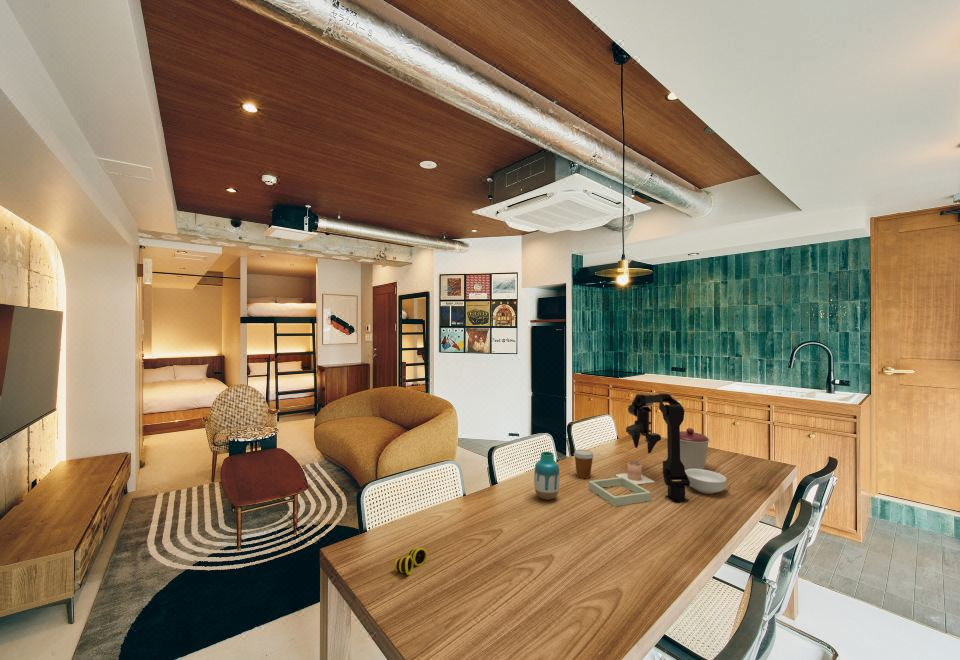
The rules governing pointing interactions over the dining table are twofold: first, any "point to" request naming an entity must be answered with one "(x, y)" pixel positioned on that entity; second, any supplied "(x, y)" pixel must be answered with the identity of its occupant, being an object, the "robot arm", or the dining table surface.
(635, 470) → the terracotta pot
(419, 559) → the opera glasses
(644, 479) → the potting mat
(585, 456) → the disposable coffee cup
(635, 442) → the robot arm
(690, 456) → the canister
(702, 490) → the cereal bowl
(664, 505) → the dining table surface
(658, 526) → the dining table surface
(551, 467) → the vase
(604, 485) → the shallow rimmed tray
